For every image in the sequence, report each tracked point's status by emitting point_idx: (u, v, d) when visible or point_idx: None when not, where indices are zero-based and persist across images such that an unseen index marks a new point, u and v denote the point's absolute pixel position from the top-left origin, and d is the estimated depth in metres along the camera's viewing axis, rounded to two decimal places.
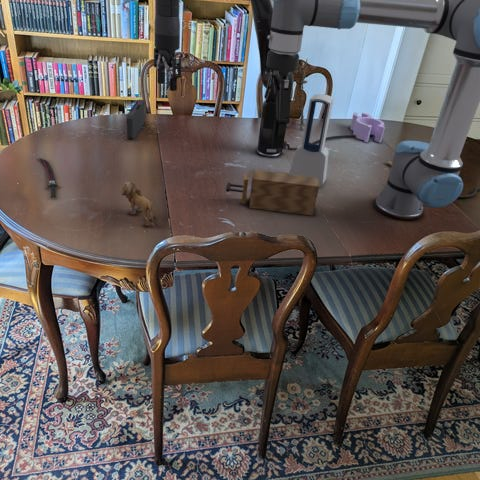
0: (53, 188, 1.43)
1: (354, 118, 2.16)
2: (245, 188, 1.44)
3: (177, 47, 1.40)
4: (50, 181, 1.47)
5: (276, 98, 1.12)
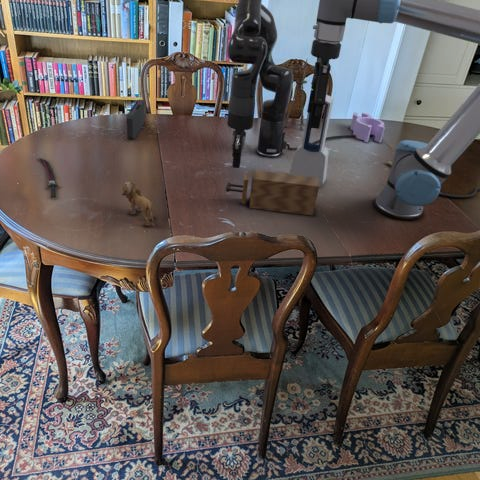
0: (53, 188, 1.43)
1: (354, 118, 2.16)
2: (245, 188, 1.44)
3: None
4: (50, 181, 1.47)
5: (316, 82, 1.24)
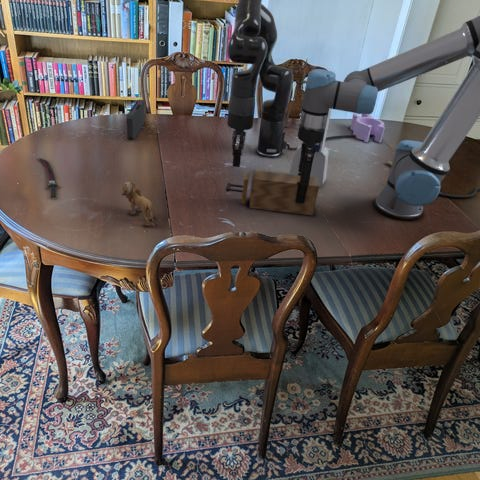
0: (53, 188, 1.43)
1: (354, 118, 2.16)
2: (245, 188, 1.44)
3: None
4: (50, 181, 1.47)
5: (302, 163, 1.38)
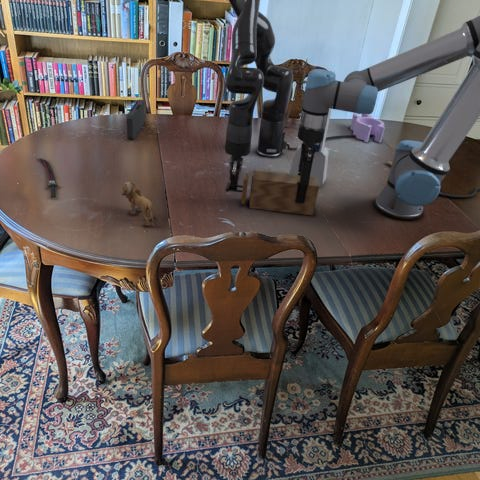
0: (53, 188, 1.43)
1: (354, 118, 2.16)
2: (245, 188, 1.44)
3: None
4: (50, 181, 1.47)
5: (302, 163, 1.38)
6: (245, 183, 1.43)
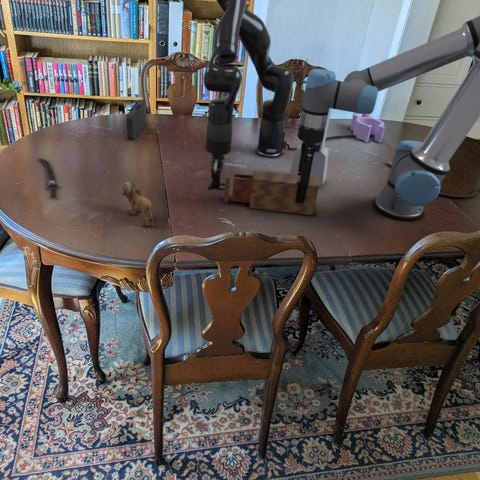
0: (53, 188, 1.43)
1: (354, 118, 2.16)
2: (227, 186, 1.44)
3: None
4: (50, 181, 1.47)
5: (302, 163, 1.38)
6: (227, 181, 1.43)
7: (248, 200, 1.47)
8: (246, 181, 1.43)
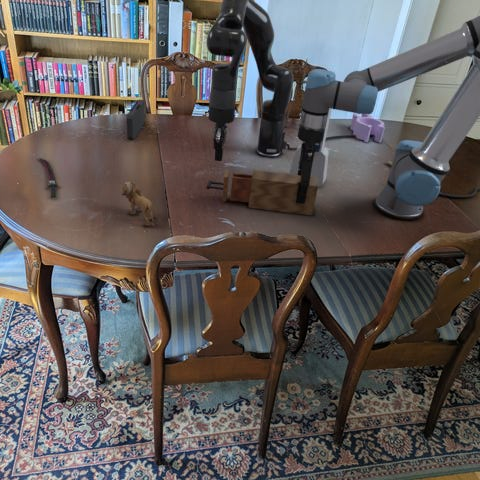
0: (53, 188, 1.43)
1: (354, 118, 2.16)
2: (225, 185, 1.44)
3: None
4: (50, 181, 1.47)
5: (302, 163, 1.38)
6: (225, 180, 1.43)
7: (246, 199, 1.47)
8: (244, 181, 1.43)
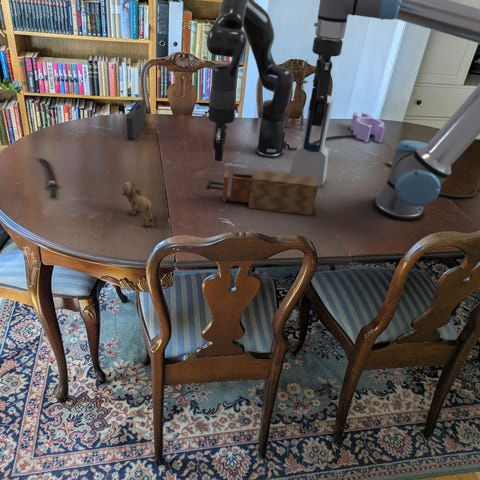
0: (53, 188, 1.43)
1: (354, 118, 2.16)
2: (225, 186, 1.44)
3: None
4: (50, 181, 1.47)
5: (318, 80, 1.24)
6: (225, 180, 1.43)
7: (246, 200, 1.47)
8: (244, 181, 1.43)
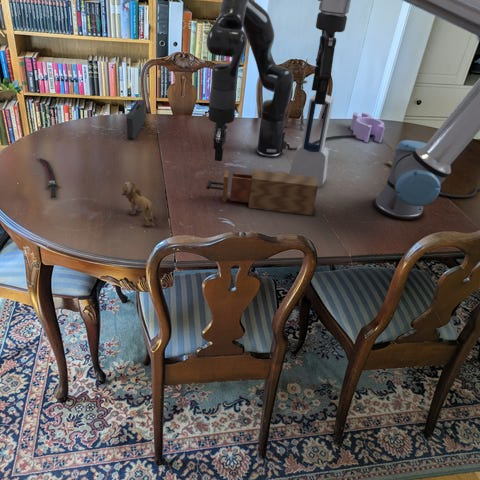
0: (53, 188, 1.43)
1: (354, 118, 2.16)
2: (225, 186, 1.44)
3: None
4: (50, 181, 1.47)
5: (321, 57, 1.20)
6: (225, 180, 1.43)
7: (246, 200, 1.47)
8: (244, 181, 1.43)
